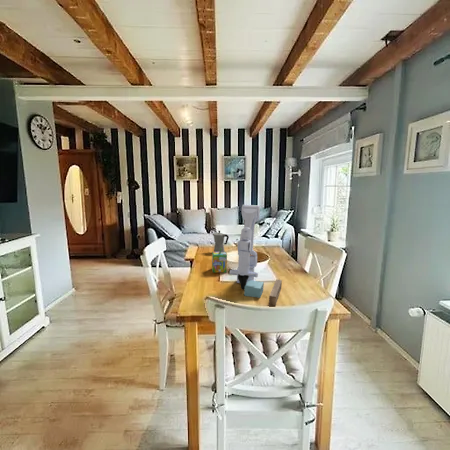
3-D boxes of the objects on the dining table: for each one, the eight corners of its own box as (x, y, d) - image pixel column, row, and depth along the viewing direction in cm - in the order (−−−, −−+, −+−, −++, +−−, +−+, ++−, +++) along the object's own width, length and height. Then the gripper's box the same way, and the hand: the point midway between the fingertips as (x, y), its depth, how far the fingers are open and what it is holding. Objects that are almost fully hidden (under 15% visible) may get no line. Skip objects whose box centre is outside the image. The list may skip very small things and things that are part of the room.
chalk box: (211, 268, 183) (212, 246, 181) (225, 268, 183) (226, 246, 181) (212, 273, 174) (212, 249, 171) (226, 272, 174) (227, 249, 172)
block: (244, 296, 139) (244, 286, 138) (248, 289, 148) (248, 280, 148) (260, 298, 137) (260, 288, 136) (263, 290, 146) (263, 281, 145)
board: (268, 305, 128) (269, 295, 128) (275, 287, 151) (276, 279, 150) (275, 306, 127) (275, 296, 127) (281, 288, 150) (281, 280, 149)
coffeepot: (209, 252, 226) (209, 230, 224) (215, 250, 234) (215, 229, 232) (225, 255, 218) (225, 232, 216) (231, 252, 226) (231, 230, 224)
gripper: (228, 264, 140) (227, 289, 142) (256, 267, 136) (255, 293, 138) (232, 260, 147) (231, 285, 149) (259, 263, 143) (258, 288, 145)
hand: (243, 288), depth 144 cm, fingers closed
